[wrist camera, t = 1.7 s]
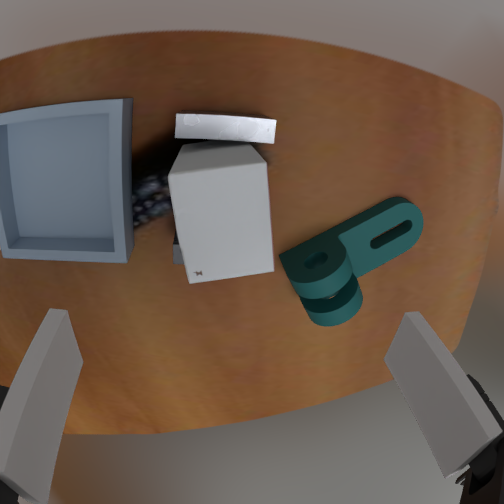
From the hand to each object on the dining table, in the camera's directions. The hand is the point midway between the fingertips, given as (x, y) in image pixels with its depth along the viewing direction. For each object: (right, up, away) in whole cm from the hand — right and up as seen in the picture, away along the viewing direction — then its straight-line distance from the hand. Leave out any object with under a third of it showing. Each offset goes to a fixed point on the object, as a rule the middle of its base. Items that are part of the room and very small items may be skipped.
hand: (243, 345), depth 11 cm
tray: (-20, +11, +18) cm, 29 cm away
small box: (-3, +11, +21) cm, 24 cm away
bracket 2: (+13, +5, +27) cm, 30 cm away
